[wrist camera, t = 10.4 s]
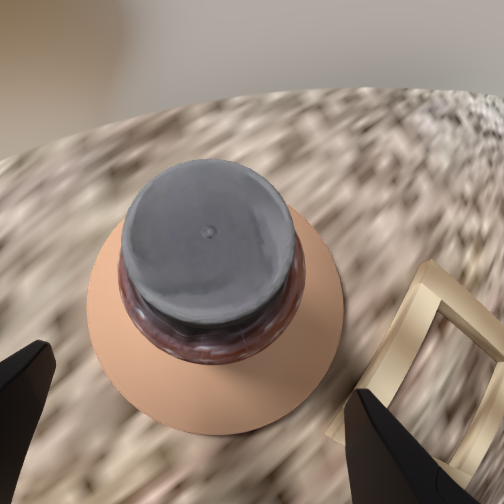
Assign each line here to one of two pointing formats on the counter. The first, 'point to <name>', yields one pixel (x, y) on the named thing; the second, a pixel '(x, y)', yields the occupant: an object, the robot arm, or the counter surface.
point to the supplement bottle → (210, 262)
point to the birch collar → (408, 343)
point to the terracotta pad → (219, 376)
